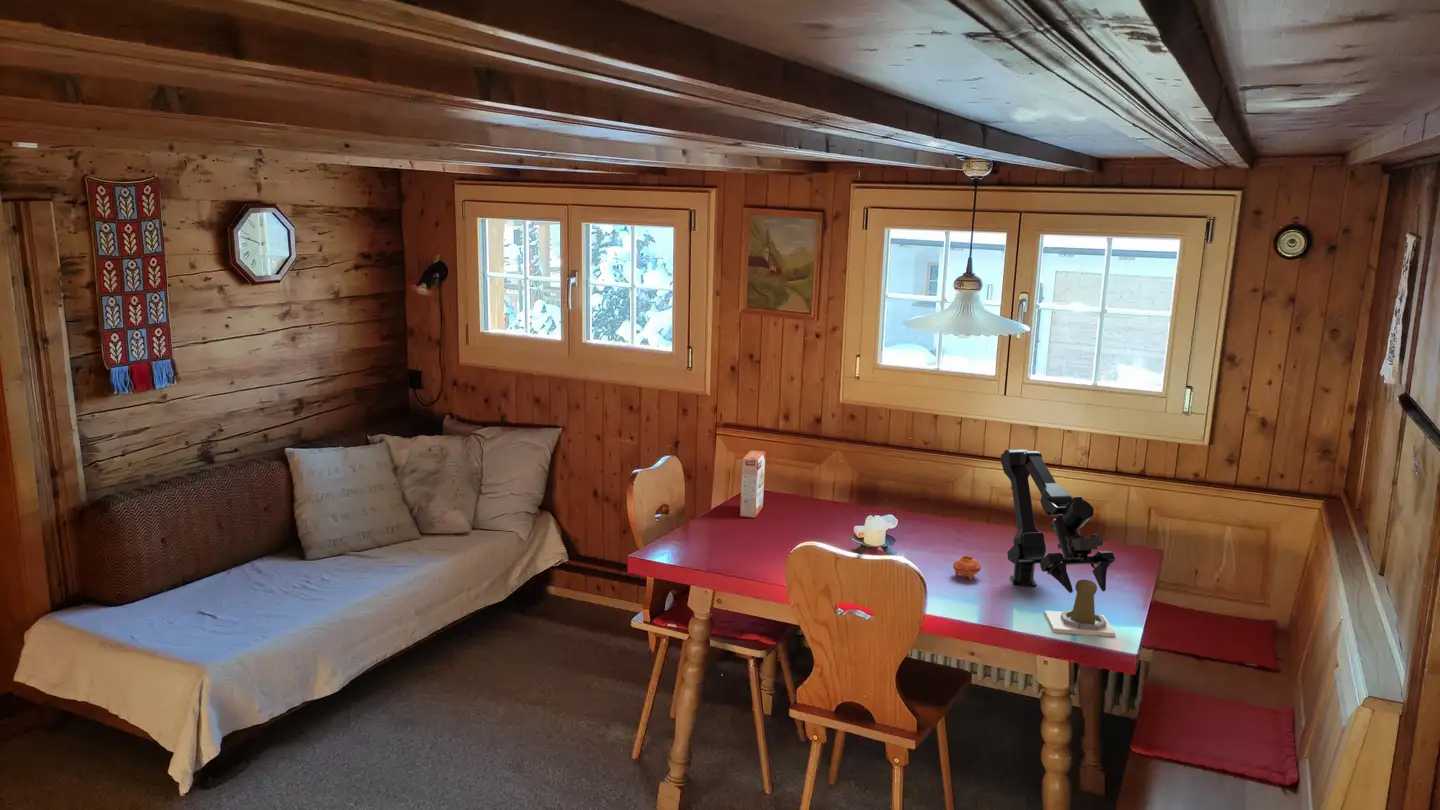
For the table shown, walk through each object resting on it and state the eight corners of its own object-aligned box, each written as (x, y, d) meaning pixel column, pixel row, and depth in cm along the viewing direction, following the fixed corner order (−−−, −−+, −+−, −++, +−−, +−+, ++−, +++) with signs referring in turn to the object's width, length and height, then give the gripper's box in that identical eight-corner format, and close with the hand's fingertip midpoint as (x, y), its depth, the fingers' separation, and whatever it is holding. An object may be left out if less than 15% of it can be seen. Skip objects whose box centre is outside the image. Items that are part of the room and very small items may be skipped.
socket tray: (1044, 614, 263) (1045, 606, 262) (1103, 618, 261) (1103, 610, 261) (1053, 632, 251) (1054, 624, 251) (1114, 636, 249) (1115, 628, 249)
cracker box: (756, 518, 341) (758, 459, 337) (739, 517, 342) (741, 458, 338) (764, 507, 354) (766, 450, 351) (747, 506, 356) (749, 449, 352)
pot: (987, 580, 286) (984, 559, 285) (962, 587, 285) (959, 566, 283) (974, 569, 294) (971, 549, 292) (950, 576, 293) (947, 556, 291)
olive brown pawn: (1100, 623, 255) (1104, 583, 253) (1084, 628, 252) (1089, 587, 250) (1080, 615, 260) (1084, 575, 258) (1065, 619, 257) (1069, 579, 255)
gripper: (1049, 523, 254) (1068, 579, 245) (1115, 521, 257) (1136, 576, 249) (1031, 543, 263) (1049, 598, 254) (1095, 540, 266) (1115, 594, 258)
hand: (1087, 591), depth 253 cm, fingers open, 9 cm apart
